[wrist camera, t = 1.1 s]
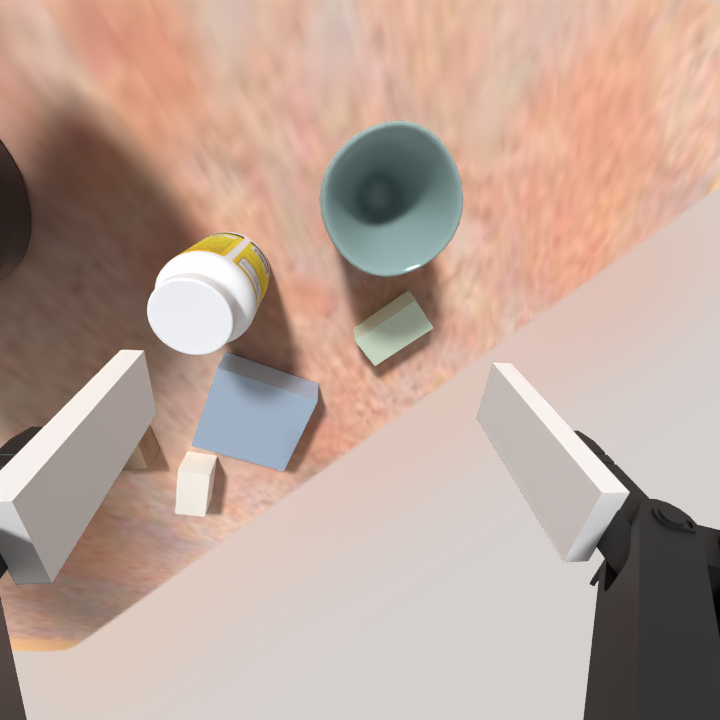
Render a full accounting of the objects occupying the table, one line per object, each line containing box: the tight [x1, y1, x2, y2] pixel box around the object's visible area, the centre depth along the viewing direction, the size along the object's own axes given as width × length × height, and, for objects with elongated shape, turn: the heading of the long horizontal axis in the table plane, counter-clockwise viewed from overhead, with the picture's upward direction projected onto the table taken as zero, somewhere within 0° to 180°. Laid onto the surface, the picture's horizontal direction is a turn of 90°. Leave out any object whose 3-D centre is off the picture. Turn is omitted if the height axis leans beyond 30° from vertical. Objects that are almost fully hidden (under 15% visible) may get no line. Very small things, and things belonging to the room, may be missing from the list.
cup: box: [319, 120, 463, 277], centre depth 25 cm, size 8×8×10 cm
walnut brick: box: [122, 425, 160, 471], centre depth 37 cm, size 6×3×3 cm, turn 94°
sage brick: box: [353, 290, 433, 366], centre depth 33 cm, size 6×3×3 cm, turn 125°
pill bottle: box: [147, 232, 270, 355], centre depth 26 cm, size 6×6×11 cm
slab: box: [192, 352, 318, 471], centre depth 36 cm, size 9×9×3 cm
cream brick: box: [175, 452, 217, 517], centre depth 39 cm, size 6×3×3 cm, turn 165°
